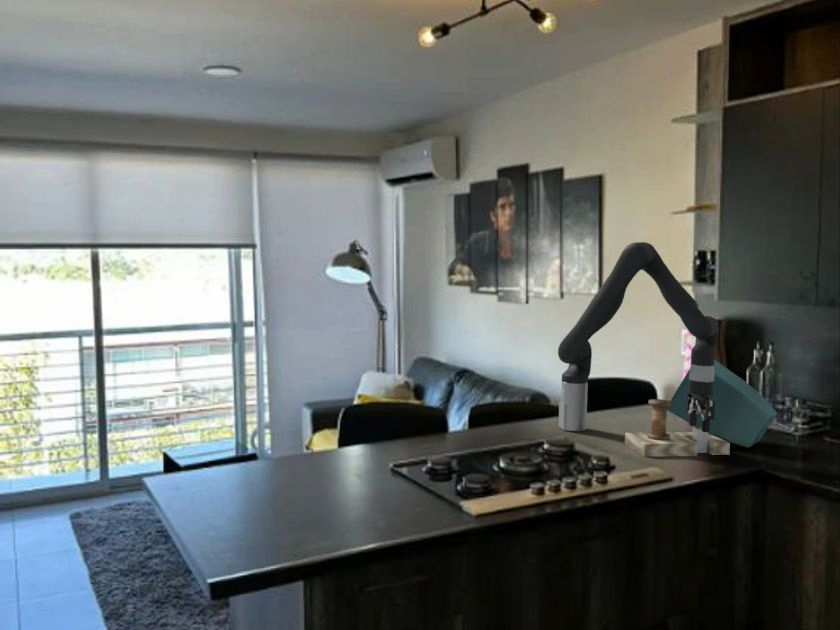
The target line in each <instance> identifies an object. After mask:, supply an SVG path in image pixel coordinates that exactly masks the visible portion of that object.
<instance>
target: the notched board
mask: <svg viewBox="0 0 840 630" xmlns="http://www.w3.org/2000/svg"><path fill="white" fill-rule="evenodd" d="M647 433H648V431H647V432H645V431H644V432H643V431H642V432H638V431H637V432H636V431H635V432H624V446H627V447H628V448H630V449H631V450H633V451H635V452H636V453H638V454H639V455H641V456H642V457H645V458H646V457H649V458H651V457H697V456H698V454H697V443H696V442H694V441H692V431H674V432H673V431H666V433H667V434H670V439H669V440H653V439H649V438H647ZM730 446H731V442H728V441H725V440H723V439H720V438H718V437H715V436H713V435H711V434H709V433H708V446H707V452H709V453H710V454H709V453H708V454H709V455H711V454H712V455H711V456H713V455H729V456H730V450H731V447H730Z"/></svg>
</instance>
